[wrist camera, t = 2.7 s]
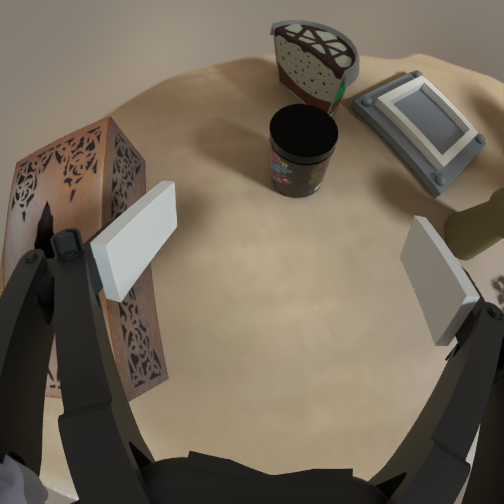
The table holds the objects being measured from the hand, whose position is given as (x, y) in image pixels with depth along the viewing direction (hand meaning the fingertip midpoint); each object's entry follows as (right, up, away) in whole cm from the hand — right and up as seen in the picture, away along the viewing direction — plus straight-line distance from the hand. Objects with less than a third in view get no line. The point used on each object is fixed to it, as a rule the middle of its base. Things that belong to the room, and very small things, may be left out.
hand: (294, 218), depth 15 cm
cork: (+24, 0, +13) cm, 27 cm away
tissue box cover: (-20, -4, +16) cm, 26 cm away
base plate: (+22, +16, +17) cm, 32 cm away
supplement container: (+3, +7, +16) cm, 18 cm away
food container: (+7, +20, +19) cm, 28 cm away
